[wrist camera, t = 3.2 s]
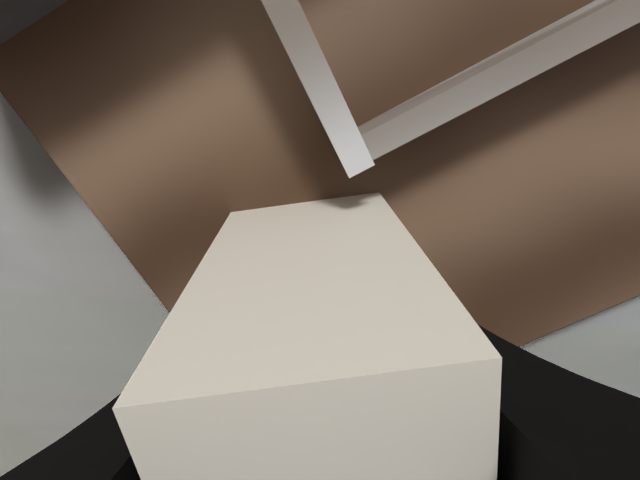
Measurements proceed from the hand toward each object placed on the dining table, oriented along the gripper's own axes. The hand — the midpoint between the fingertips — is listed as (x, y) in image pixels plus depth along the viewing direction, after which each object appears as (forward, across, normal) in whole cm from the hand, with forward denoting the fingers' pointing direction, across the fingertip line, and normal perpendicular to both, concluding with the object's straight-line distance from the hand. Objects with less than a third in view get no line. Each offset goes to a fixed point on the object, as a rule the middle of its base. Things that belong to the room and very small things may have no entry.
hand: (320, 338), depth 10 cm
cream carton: (+2, 0, 0) cm, 2 cm away
